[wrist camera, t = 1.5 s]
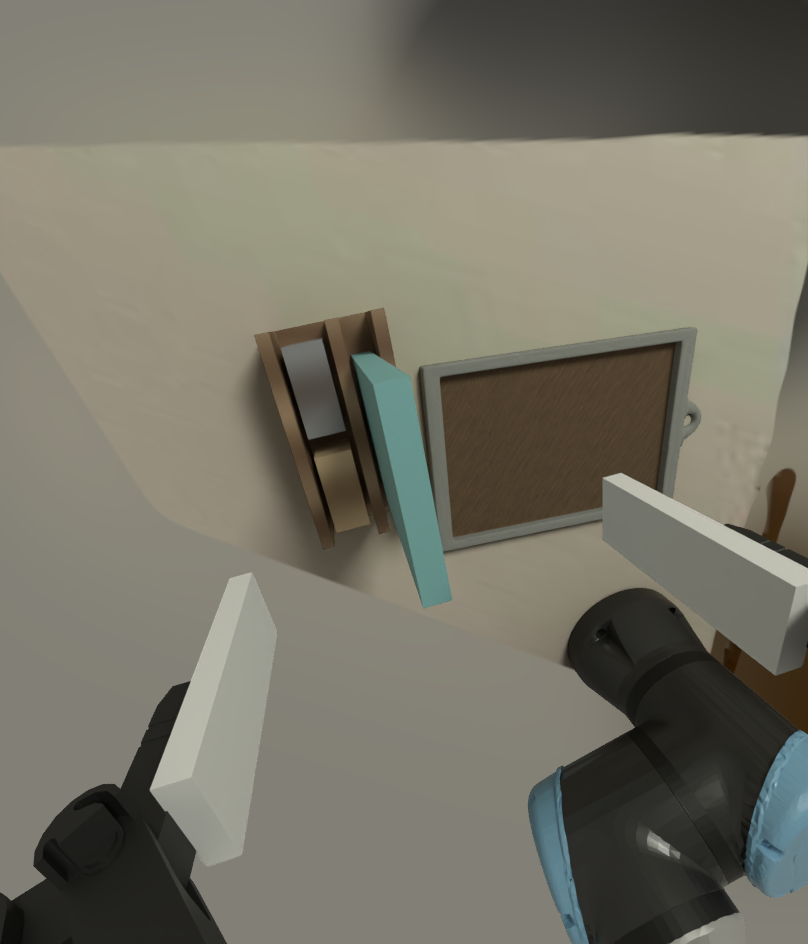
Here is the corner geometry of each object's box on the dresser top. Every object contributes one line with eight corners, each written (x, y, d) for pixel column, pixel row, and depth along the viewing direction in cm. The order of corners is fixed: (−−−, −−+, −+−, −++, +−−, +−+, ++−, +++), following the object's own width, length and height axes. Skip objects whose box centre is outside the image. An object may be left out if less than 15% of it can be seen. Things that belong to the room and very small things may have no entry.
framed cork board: (421, 367, 34) (723, 323, 38) (417, 365, 36) (708, 323, 40) (440, 553, 41) (693, 501, 45) (436, 545, 43) (681, 495, 47)
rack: (415, 498, 40) (426, 521, 35) (324, 522, 39) (323, 549, 34) (376, 310, 33) (384, 307, 29) (264, 333, 32) (254, 335, 28)
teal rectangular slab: (397, 479, 38) (452, 600, 21) (381, 483, 38) (423, 608, 21) (369, 350, 33) (410, 376, 17) (350, 354, 33) (373, 384, 16)
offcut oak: (366, 504, 38) (370, 524, 34) (335, 512, 38) (336, 533, 34) (348, 436, 35) (350, 449, 32) (315, 444, 35) (314, 458, 31)
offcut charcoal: (344, 419, 35) (345, 430, 31) (310, 427, 35) (308, 439, 31) (322, 337, 32) (321, 339, 29) (286, 345, 32) (280, 348, 28)
